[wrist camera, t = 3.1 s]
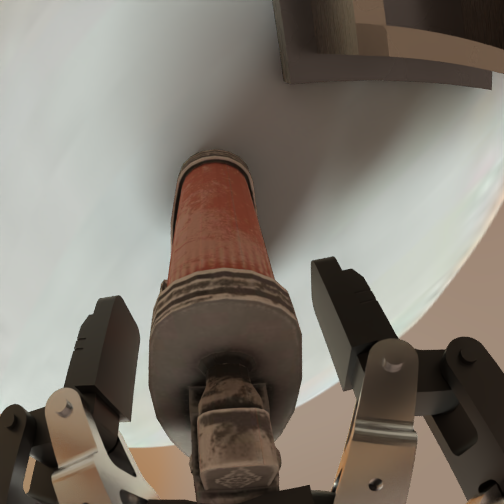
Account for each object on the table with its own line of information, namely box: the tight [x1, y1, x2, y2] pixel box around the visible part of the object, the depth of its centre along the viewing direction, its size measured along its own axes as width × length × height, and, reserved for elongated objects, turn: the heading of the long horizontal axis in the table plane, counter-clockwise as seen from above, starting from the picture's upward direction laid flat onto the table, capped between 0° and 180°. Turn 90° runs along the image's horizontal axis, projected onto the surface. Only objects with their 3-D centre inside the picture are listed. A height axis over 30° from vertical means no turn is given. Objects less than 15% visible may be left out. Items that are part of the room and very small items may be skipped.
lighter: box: [149, 149, 302, 504], centre depth 9 cm, size 8×3×10 cm, turn 176°
